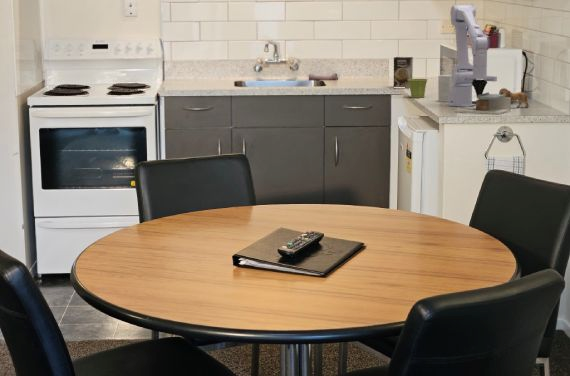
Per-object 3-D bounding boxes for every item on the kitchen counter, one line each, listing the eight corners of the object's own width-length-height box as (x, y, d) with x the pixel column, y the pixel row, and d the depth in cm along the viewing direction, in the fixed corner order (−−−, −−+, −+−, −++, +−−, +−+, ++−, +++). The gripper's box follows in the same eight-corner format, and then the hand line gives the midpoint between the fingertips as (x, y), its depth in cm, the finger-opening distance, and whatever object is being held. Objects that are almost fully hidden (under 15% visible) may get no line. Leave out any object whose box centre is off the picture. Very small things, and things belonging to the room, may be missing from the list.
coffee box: (393, 88, 502) (393, 57, 498) (395, 87, 508) (395, 56, 504) (410, 88, 499) (410, 57, 495) (412, 87, 505) (412, 56, 501)
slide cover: (477, 98, 400) (477, 95, 400) (487, 95, 409) (487, 92, 409) (495, 99, 396) (495, 96, 396) (505, 96, 404) (505, 93, 404)
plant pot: (404, 97, 463) (404, 79, 461) (421, 96, 467) (421, 78, 465) (413, 99, 455) (413, 80, 453) (431, 97, 458) (431, 79, 456)
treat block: (475, 112, 405) (476, 100, 404) (479, 110, 408) (479, 99, 407) (484, 112, 403) (485, 100, 402) (488, 111, 406) (488, 99, 405)
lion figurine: (502, 110, 409) (503, 88, 407) (495, 108, 414) (496, 87, 412) (532, 107, 414) (532, 86, 412) (525, 106, 419) (525, 85, 417)
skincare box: (454, 101, 442) (454, 75, 440) (449, 102, 439) (449, 76, 437) (442, 100, 446) (443, 74, 444) (437, 101, 443) (438, 75, 441)
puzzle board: (454, 112, 406) (454, 98, 405) (466, 108, 416) (466, 95, 415) (499, 114, 395) (499, 100, 394) (510, 111, 405) (510, 97, 403)
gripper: (459, 66, 403) (459, 98, 406) (492, 66, 395) (491, 99, 398) (466, 64, 409) (466, 96, 411) (499, 65, 401) (498, 98, 403)
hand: (479, 98), depth 405 cm, fingers closed
